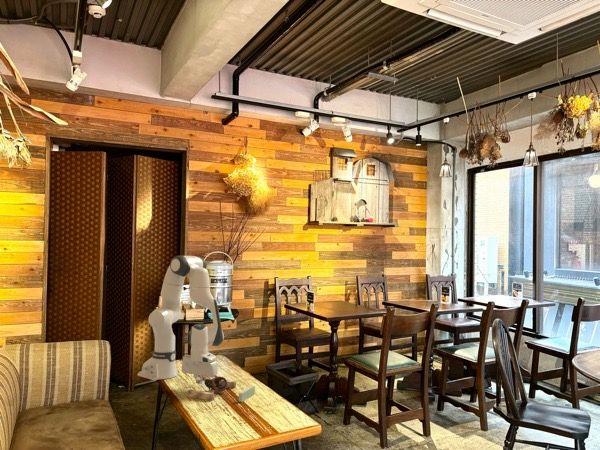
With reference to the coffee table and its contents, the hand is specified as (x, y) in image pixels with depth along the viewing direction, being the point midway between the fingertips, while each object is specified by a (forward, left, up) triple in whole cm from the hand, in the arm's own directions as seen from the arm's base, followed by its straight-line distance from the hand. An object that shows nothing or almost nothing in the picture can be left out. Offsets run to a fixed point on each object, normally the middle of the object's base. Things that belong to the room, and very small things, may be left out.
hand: (199, 383), depth 234 cm
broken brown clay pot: (+9, +2, -4) cm, 10 cm away
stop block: (+28, 0, -3) cm, 28 cm away
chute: (+8, 0, -3) cm, 9 cm away
